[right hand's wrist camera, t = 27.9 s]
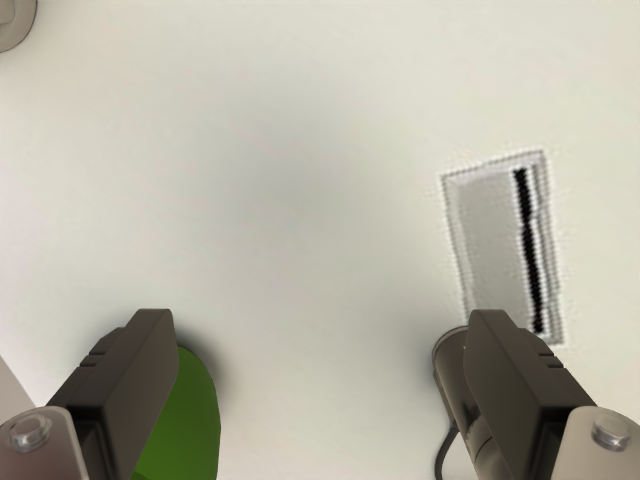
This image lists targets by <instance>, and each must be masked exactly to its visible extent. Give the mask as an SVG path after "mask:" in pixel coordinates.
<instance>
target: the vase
mask: <svg viewBox="0 0 640 480" xmlns="http://www.w3.org/2000/svg"><path fill="white" fill-rule="evenodd" d="M177 350H178V357H179V368H178V375H177V378H176V381H175V384H174V386H173V388H172V390H171V392H170V394H169V396H168V399H167V401H166V403H165V405H164V407H163V409H162V411H161V414H160V416H159V418H158V420H157V422H156V424H155V426H154V429H153V431H152V433H151V435H150V437H149V439H148V441H147V443H146V446H145V448H144V450H143V452H142V454H141V456H140V458H139V461H138V463H137V465H136V467H135V469H134V471H133V473H132V476H131V478H130V480H216V478H217V471H218V458H219V446H220V433H221V423H220V414H219V408H218V402H217V396H216V390H215V387H214V384H213V381H212V379H211V377H210V375H209V373H208V371H207V369H206V368H205V366H204V364H203V363H202V361H201V360H200V359H199V358H198V357H197V356H196V355H194V354H193V353H192V352H190V351H189V350H187V349H185V348H183V347H180V346H177Z"/></svg>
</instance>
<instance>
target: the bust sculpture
mask: <svg viewBox="0 0 640 480" xmlns="http://www.w3.org/2000/svg"><path fill="white" fill-rule="evenodd" d="M35 10H36V0H0V52H3V51H6V50H9V49H11V48H13V47H14V46H16V45H17V44H18V43H19V42H21V41H22V40H23V38H24V37H25V36H26V35H27V33H28V31H29V30H30V28H31V25H32V23H33V20H34V16H35Z"/></svg>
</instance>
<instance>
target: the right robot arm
mask: <svg viewBox="0 0 640 480" xmlns="http://www.w3.org/2000/svg"><path fill="white" fill-rule="evenodd" d="M432 361H433V365H434V368H435V371H434V373H433V376H434V379H435V381H436V384H437V387H438V389H439V392H440V395H441V397H442V400H443V403H444V405H445V408H446V411H447V413H448V416H449V419H450V421H451V424H452V425H453V426H454V427H453V428H452V430H451V431H450V433H449V435H448V437H447V438H446V440H445V442H444V444H443V446H442V448H441V450H440V452H439V455H438V458H437V461H436V468H435V475H436V480H443V479H442V474H441V470H442V464H443V461H444V458H445V455H446V453H447V451H448V449H449V447H450V445H451V444H452V442H453V440H454V439H455V437H456V435H457V433H458V432H461V435H462V437H463V440H464V443H465V445H466V448H467V450H468V452H469V455H470V458H471V460H472V463H473V465H474V468H475V470H476V473H477V476H478V479H479V480H640V426H639V425H638V424H637V423H635V422H634V421H632V420H631V419H629V418H627V417H626V416H624V415H622V414H619V413H617V412H615V411H612V410H609V409H606V408H602V407H598V406H597V405H596V404H595V402H594V401H593V400H592V399H591V398H590V396H589V395H588V394H587V393H586V392H585V390H584V389H583V388H582V387H581V386H580V384H579V383H578V382H577V381H576V380H575V378H574V377H573V376H572V375H571V374H570V372H569V371H568V370H567V369H566V368H564V367H563V364H562V363H561V362H560V360H559V359H558V358H557V357H556V356H554V353H553V352H552V351H551V350H550V348H549V347H548V346H547V345H546V344H545V342H544V341H543V340H542V339H540V338H539V337H537V336H536V335H534V334H533V333H531V332H530V331H528V330H527V329H525V328H518V327H517V326H516V325H515V324H514V322H513V321H512V320H511V318H510V317H509V316H508V315H507V313H506V312H505V311H504V310H473V311H472V312H471V314H470V318H469V325H468V326H465V327H460V328H457V329H454V330H452V331H450V332H448V333H447V334H445V335H444V336H443V337H442V338H441V339H440V340H439V341H438V343H437V344H436V346H435V348H434V351H433V355H432ZM178 368H179V357H178V350H177V343H176V336H175V329H174V322H173V316H172V313H171V311H170V310H169V309H139V310H138V311H137V312H136V313H135V314H134V316H133V317H132V318H131V320H130V321H129V322H128V324H127V325H126V326H125V328H116V329H115V330H113V331H112V332H110V333H109V334H107V335H106V336H104V337H103V338H101V339H100V340H99V341H98V342H97V344H96V345H95V346H94V347H93V348H92V350H91V351H90V352H89V355H87V356H86V357H85V358H84V359H83V361H82V362H81V363H80V366H79V367H77V368H76V369H75V370H74V372H73V373H72V374H71V375H70V376H69V378H68V379H67V380H66V381H65V382H64V384H63V385H62V386H61V387H60V388H59V390H58V391H57V392H56V393H55V395H54V396H53V397H52V398H51V399H50V401H49V402H48V403H47V404H46V405H45V406H44V407H38V408H34V409H31V410H28V411H25V412H23V413H21V414H19V415H17V416H14V417H13V418H11V419H9V420H8V421H6V422H5V423H3V424H2V425H1V426H0V480H130V478H131V476H132V473H133V471H134V469H135V467H136V465H137V463H138V461H139V458H140V456H141V454H142V452H143V450H144V448H145V446H146V443H147V441H148V439H149V437H150V435H151V433H152V431H153V429H154V426H155V424H156V422H157V420H158V418H159V416H160V414H161V411H162V409H163V407H164V405H165V403H166V401H167V399H168V396H169V394H170V392H171V390H172V388H173V386H174V384H175V381H176V378H177V375H178Z"/></svg>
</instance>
